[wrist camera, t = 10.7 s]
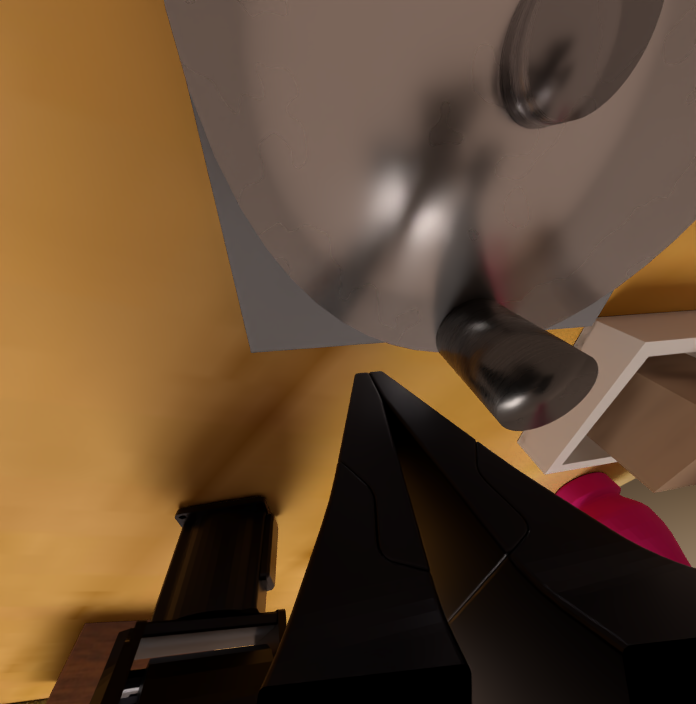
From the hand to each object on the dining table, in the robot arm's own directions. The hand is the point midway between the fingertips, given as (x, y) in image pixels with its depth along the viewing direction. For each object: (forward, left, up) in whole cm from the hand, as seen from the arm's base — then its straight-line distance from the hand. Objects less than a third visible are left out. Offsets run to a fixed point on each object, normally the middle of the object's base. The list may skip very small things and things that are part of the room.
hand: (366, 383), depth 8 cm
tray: (+22, -7, -6) cm, 23 cm away
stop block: (+22, -7, -5) cm, 23 cm away
